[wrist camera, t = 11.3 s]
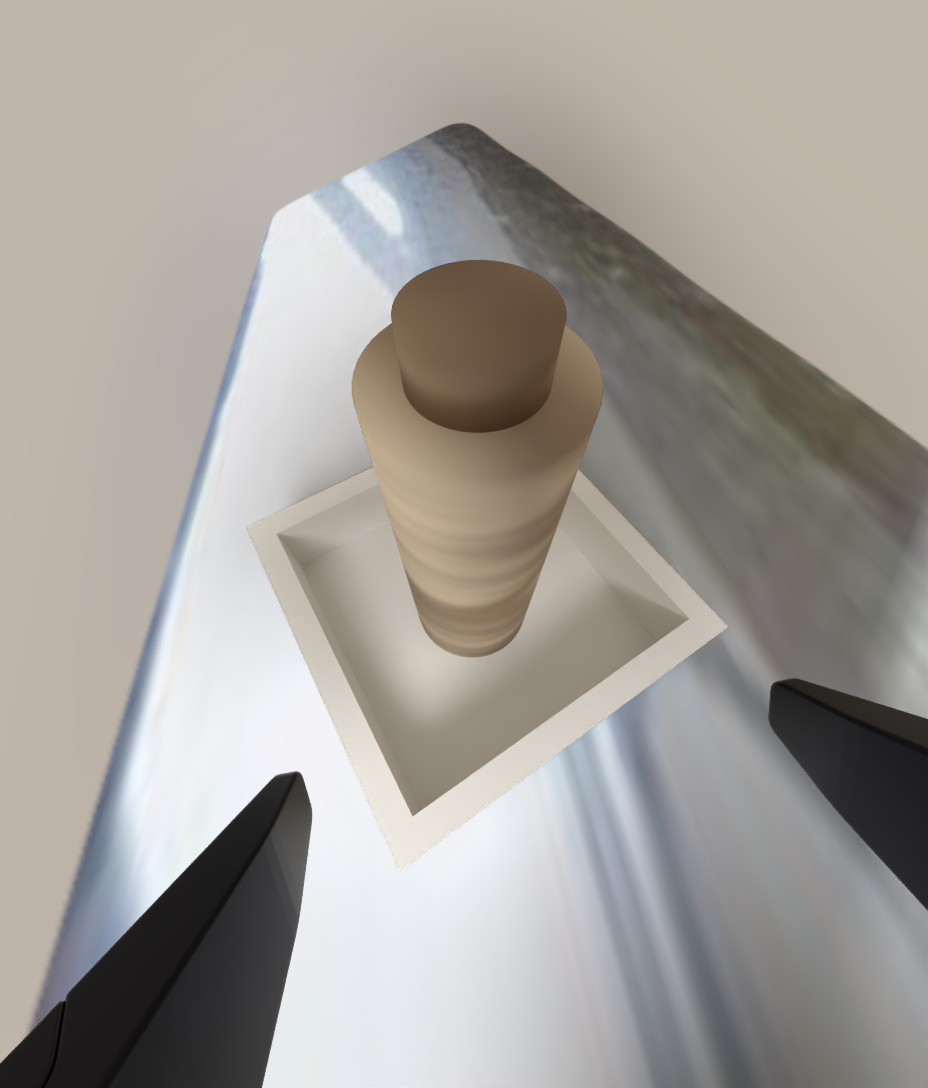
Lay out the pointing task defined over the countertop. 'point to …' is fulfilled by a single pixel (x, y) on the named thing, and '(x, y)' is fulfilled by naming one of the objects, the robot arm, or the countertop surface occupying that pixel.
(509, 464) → the pepper mill
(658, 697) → the countertop surface
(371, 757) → the bin
